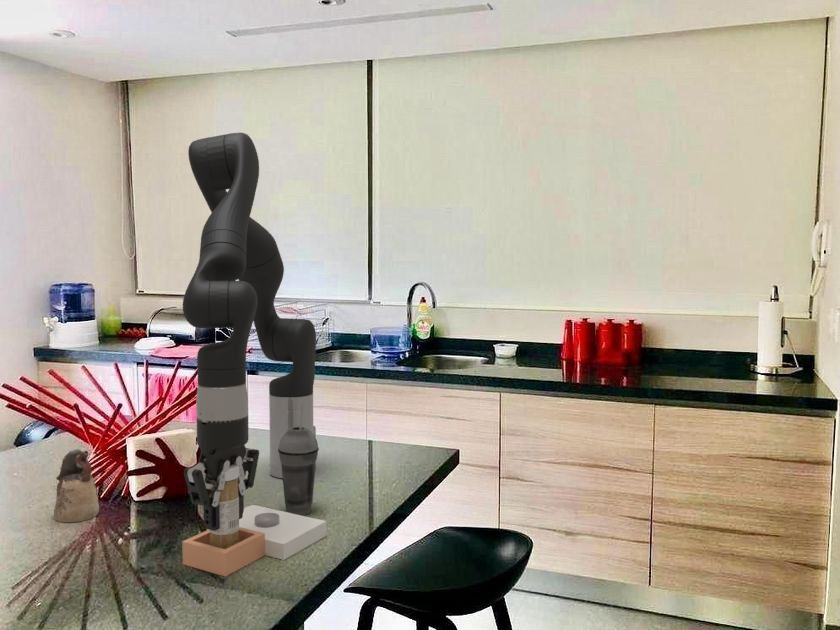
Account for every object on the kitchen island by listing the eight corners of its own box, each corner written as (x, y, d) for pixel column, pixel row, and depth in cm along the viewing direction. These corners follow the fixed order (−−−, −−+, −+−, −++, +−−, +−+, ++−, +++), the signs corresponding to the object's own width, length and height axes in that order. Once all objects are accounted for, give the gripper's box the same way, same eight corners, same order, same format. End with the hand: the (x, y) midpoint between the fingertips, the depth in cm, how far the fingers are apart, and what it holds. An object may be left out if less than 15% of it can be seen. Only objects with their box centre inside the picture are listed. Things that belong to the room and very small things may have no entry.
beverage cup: (303, 502, 135) (303, 397, 133) (327, 512, 129) (326, 403, 128) (270, 511, 130) (269, 403, 128) (293, 522, 124) (292, 409, 123)
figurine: (80, 506, 131) (79, 442, 131) (108, 512, 128) (106, 447, 127) (45, 518, 125) (43, 451, 124) (73, 525, 122) (71, 457, 121)
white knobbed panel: (252, 518, 126) (252, 499, 126) (326, 535, 118) (326, 515, 118) (165, 559, 109) (164, 536, 109) (244, 582, 101) (244, 558, 101)
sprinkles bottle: (229, 542, 112) (228, 458, 111) (245, 550, 109) (245, 464, 108) (203, 551, 109) (202, 464, 108) (219, 559, 106) (218, 471, 104)
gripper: (236, 402, 115) (238, 505, 116) (167, 419, 103) (170, 535, 104) (273, 407, 112) (274, 513, 113) (205, 426, 99) (207, 545, 100)
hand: (224, 523), depth 108 cm, fingers closed on sprinkles bottle, 4 cm apart
